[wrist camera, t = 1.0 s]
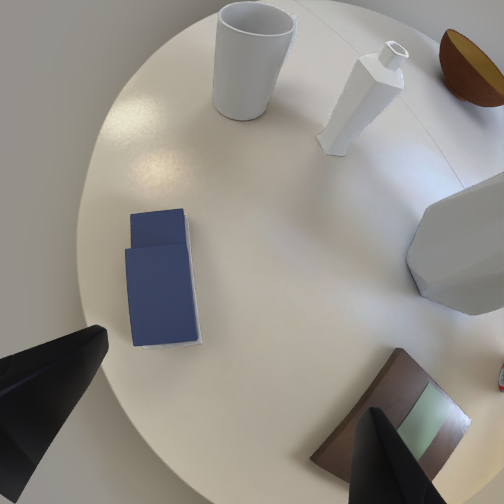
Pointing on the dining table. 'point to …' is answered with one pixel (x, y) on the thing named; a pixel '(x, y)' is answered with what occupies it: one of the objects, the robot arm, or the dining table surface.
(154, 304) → the blue stepped block
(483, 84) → the bowl
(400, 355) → the brown flat slab
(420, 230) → the vase
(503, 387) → the cup
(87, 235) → the dining table surface
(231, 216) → the dining table surface
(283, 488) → the dining table surface
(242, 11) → the mug
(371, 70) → the perfume bottle
